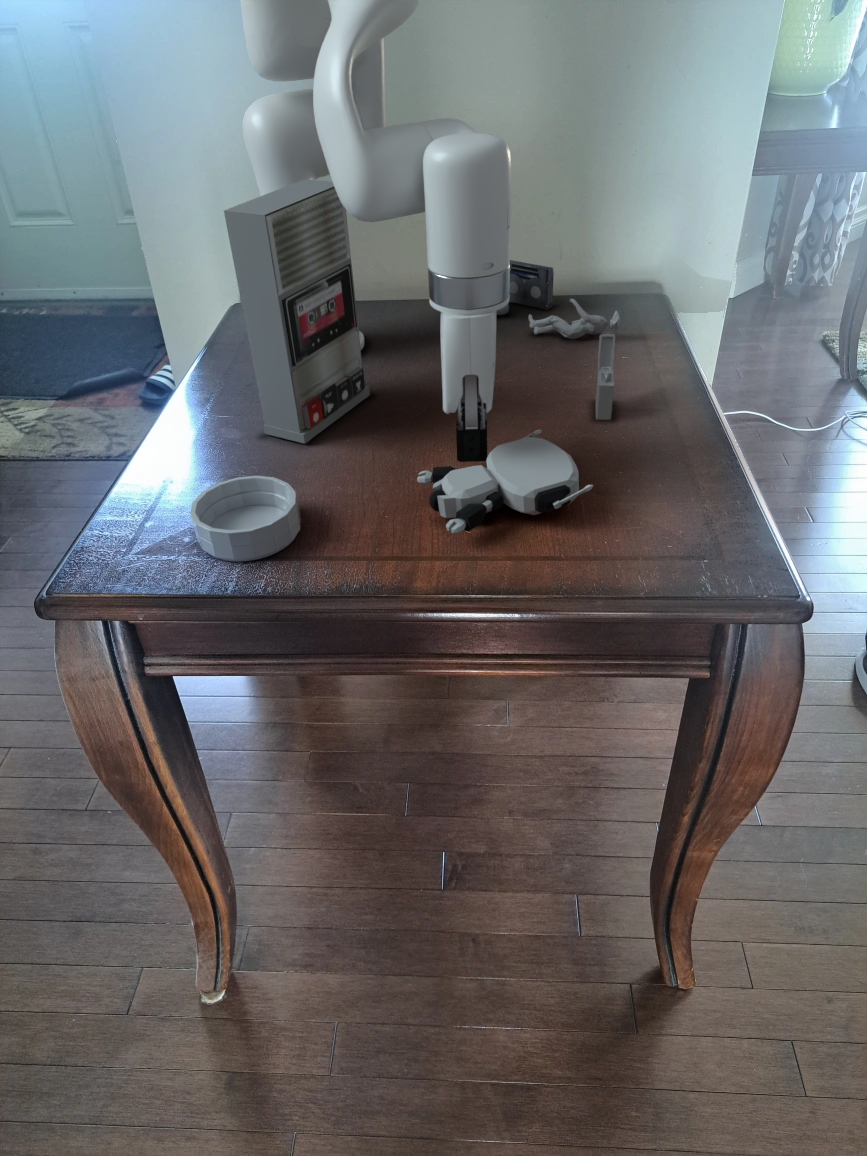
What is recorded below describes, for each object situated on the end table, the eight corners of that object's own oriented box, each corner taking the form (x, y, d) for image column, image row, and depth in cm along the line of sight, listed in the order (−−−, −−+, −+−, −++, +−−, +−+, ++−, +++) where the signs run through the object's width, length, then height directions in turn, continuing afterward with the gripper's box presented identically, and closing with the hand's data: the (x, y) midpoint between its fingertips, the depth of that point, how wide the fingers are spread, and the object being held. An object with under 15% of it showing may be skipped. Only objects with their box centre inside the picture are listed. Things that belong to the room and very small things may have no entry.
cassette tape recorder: (307, 446, 95) (270, 216, 80) (265, 435, 97) (221, 210, 82) (371, 397, 104) (350, 182, 89) (332, 388, 107) (304, 178, 91)
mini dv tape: (552, 306, 126) (553, 266, 122) (546, 310, 125) (548, 269, 121) (507, 297, 130) (507, 258, 127) (502, 300, 129) (502, 260, 126)
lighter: (611, 419, 97) (617, 354, 92) (595, 419, 97) (601, 354, 92) (609, 393, 102) (615, 330, 97) (595, 392, 102) (600, 329, 97)
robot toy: (453, 561, 78) (598, 517, 80) (447, 522, 75) (598, 478, 77) (414, 496, 87) (546, 459, 90) (409, 459, 84) (544, 421, 87)
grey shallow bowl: (177, 539, 81) (169, 509, 79) (254, 494, 87) (248, 465, 85) (245, 576, 76) (237, 545, 74) (322, 525, 82) (317, 495, 80)
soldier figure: (538, 331, 121) (620, 307, 117) (543, 362, 120) (626, 339, 116) (524, 308, 114) (610, 282, 110) (529, 341, 113) (616, 315, 109)
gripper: (431, 261, 83) (438, 425, 94) (425, 316, 71) (435, 496, 83) (506, 258, 83) (504, 423, 94) (513, 313, 71) (510, 495, 82)
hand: (472, 457), depth 88 cm, fingers closed
